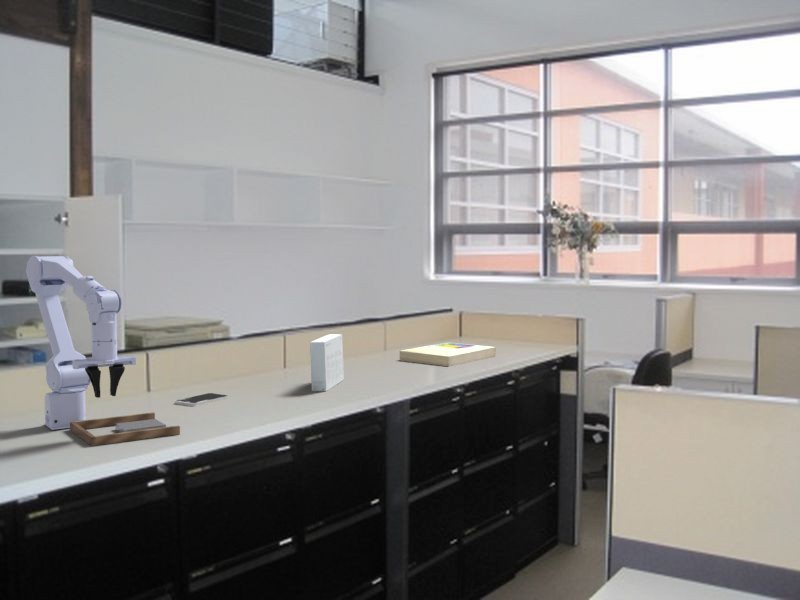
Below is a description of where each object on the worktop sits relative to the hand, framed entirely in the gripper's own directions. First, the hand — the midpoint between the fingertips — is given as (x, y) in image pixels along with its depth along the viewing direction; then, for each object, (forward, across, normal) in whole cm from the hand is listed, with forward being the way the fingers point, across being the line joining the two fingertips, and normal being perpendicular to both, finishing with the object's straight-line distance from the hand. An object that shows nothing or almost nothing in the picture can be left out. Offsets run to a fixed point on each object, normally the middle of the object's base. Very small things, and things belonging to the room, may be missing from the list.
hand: (105, 396), depth 200 cm
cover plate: (+10, +8, 0) cm, 13 cm away
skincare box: (+10, +80, +29) cm, 85 cm away
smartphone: (+10, +36, +27) cm, 46 cm away
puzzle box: (+10, +152, +56) cm, 163 cm away
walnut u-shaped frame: (+9, +4, 0) cm, 10 cm away
